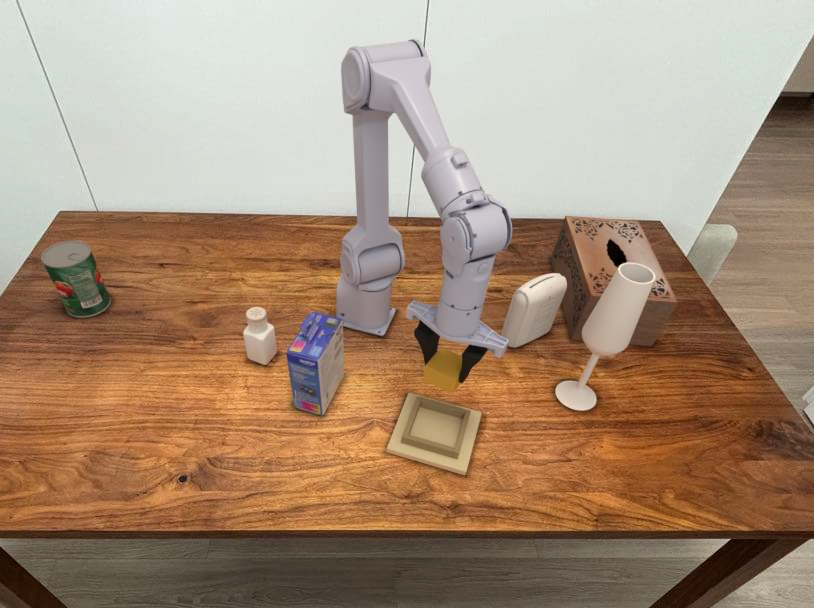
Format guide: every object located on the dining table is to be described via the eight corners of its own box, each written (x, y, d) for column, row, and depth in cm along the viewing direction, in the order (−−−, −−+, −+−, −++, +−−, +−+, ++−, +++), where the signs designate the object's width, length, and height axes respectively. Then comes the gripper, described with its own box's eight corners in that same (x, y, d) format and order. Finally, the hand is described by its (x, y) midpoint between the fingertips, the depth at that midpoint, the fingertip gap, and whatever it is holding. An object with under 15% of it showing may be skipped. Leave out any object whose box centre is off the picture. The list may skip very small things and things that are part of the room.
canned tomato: (56, 311, 98) (29, 259, 90) (86, 287, 103) (63, 236, 94) (91, 322, 96) (67, 271, 88) (120, 297, 101) (100, 246, 93)
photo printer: (536, 319, 101) (556, 263, 92) (553, 332, 99) (575, 275, 89) (496, 338, 97) (512, 281, 88) (512, 352, 95) (531, 295, 85)
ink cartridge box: (314, 366, 91) (311, 297, 80) (345, 374, 90) (345, 305, 79) (290, 407, 85) (283, 339, 74) (323, 417, 84) (320, 348, 73)
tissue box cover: (651, 346, 97) (677, 302, 89) (571, 340, 97) (590, 295, 90) (618, 263, 114) (638, 221, 106) (550, 258, 114) (565, 215, 107)
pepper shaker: (278, 352, 93) (273, 309, 85) (266, 367, 90) (260, 324, 83) (259, 345, 94) (252, 302, 86) (246, 359, 91) (238, 316, 84)
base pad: (386, 452, 80) (387, 442, 78) (408, 396, 87) (409, 385, 85) (465, 475, 77) (468, 466, 75) (480, 415, 85) (484, 405, 83)
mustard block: (422, 380, 80) (424, 365, 77) (438, 360, 82) (440, 346, 80) (452, 394, 78) (455, 380, 76) (467, 374, 81) (471, 359, 79)
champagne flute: (574, 416, 85) (637, 294, 67) (546, 388, 89) (599, 265, 71) (605, 402, 88) (674, 280, 69) (577, 375, 91) (635, 253, 73)
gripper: (526, 301, 69) (502, 375, 79) (427, 262, 74) (417, 337, 84) (505, 330, 65) (482, 404, 75) (401, 288, 70) (393, 363, 80)
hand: (446, 371), depth 79 cm, fingers closed on mustard block, 5 cm apart
